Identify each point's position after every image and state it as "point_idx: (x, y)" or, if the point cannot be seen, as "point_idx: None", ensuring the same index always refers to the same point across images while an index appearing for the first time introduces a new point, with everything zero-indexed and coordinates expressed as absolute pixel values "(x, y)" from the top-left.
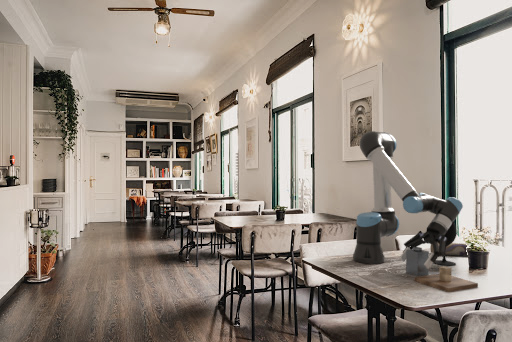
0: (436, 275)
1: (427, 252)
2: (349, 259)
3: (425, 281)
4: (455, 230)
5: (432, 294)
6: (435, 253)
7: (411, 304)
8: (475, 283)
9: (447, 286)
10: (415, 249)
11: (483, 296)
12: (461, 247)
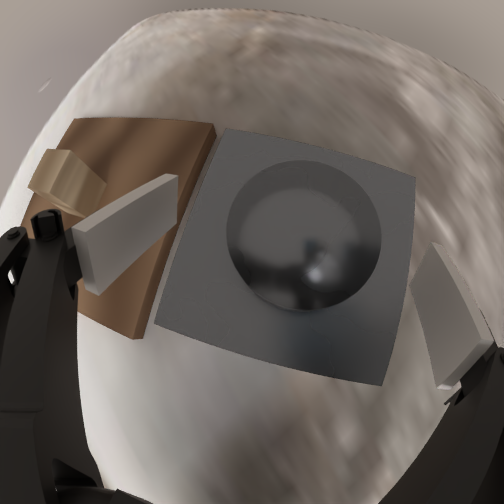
0: None
1: (166, 299)
2: None
3: (152, 120)
4: None
5: (117, 78)
6: (56, 230)
7: (148, 21)
8: None
9: (75, 129)
10: (297, 170)
11: (14, 181)
12: None
